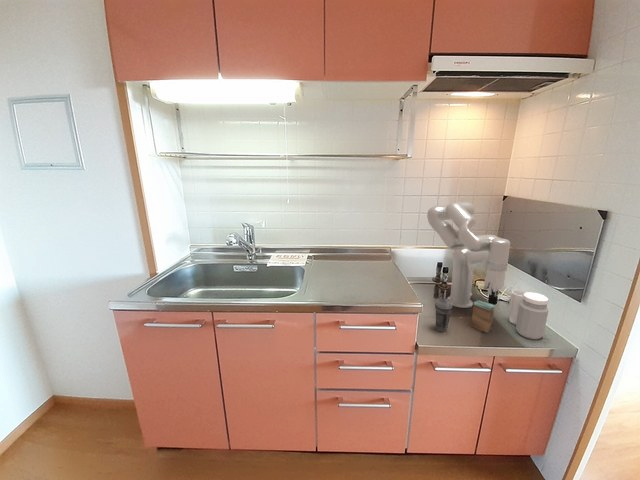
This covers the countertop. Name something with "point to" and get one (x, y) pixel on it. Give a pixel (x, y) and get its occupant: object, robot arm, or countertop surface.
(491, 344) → the countertop surface
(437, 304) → the beverage cup
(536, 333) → the jar
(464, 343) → the countertop surface
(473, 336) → the countertop surface
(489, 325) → the wooden block
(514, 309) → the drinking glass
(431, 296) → the countertop surface
